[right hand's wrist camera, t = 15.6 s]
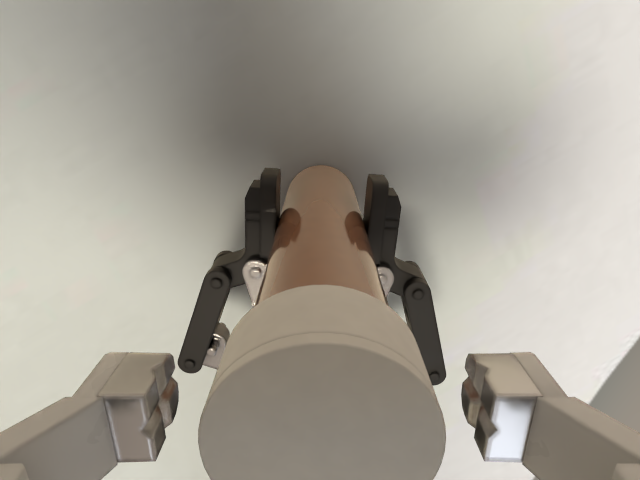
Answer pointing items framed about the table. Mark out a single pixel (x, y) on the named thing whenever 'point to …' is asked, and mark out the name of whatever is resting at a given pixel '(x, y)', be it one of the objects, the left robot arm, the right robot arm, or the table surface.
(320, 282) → the jar
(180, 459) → the table surface
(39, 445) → the right robot arm
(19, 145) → the table surface
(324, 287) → the lid
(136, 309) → the table surface
